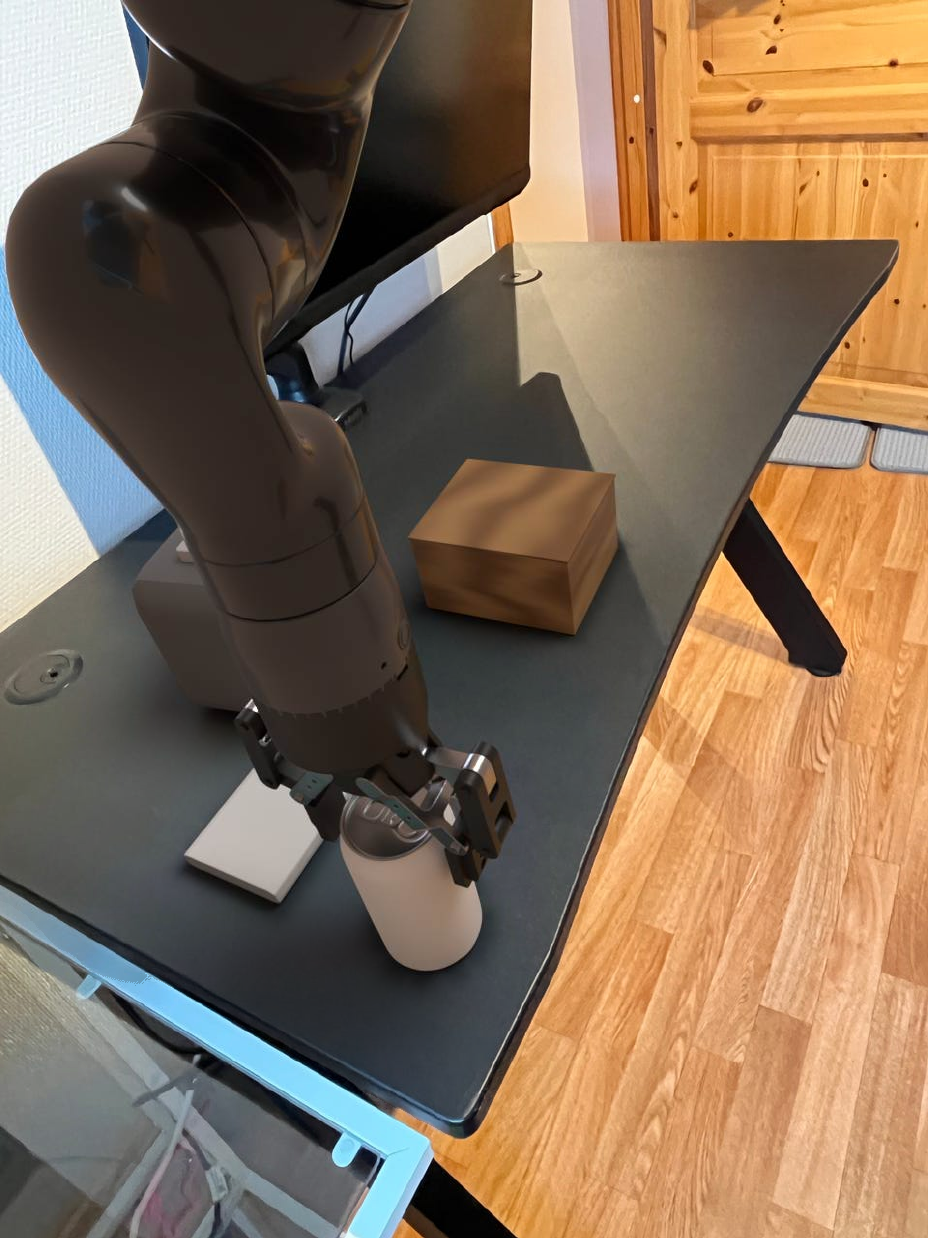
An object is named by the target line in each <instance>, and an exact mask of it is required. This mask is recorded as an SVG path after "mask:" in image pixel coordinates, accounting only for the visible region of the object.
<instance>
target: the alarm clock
mask: <svg viewBox="0 0 928 1238" xmlns="http://www.w3.org/2000/svg"><path fill="white" fill-rule="evenodd" d="M132 585H133V586H132V588H131V592H132V595H133V597H132V598H133V600H134V604H135V607H136V610H137V614H138V615H139V617H140V619H141V621H142V623H143V624H144V626H145V628H146V630H147V631H148V633H149V635H150V636H151V638H152V640H153V642H154V643H155V646H156V647H157V648H158V650H159V652H160V654H161V656H162V657H163V660H164V661H165V662H166V664H167V666H168V668H169V669H170V672H171V673H172V676H173V677H174V679H175V680H176V682H177V683H178V686H179V687H180V689H181V691H182V692H183V694H184V695H185V696H187V697H188V698H189V699H190V700H191V702H193V703H195V704H198V705H201V706H203V707H205V708H210V709H211V708H213V709H218V710H225V711H226V710H227V711H231V712H232V711H233V712H239V713H240V712H241V711H242V710H243V708H244V707H245V706H246V705H247V703H248V702H249V701H250V700H251V696H250V694H249V692H248V689H247V687H246V685H245V683H244V681H243V679H242V677H241V675H240V673H239V671H238V669H237V667H236V664H235V662H234V660H233V658H232V656H231V654H230V652H229V650H228V647H227V645H226V642H225V640H224V638H223V635H222V632H221V629H220V625H219V621H218V617H217V614H216V610H215V607H214V604H213V602H212V599H211V597H210V595H209V593H208V591H207V589H206V587H205V585H204V583H203V580H202V578H201V576H200V574H199V572H198V570H197V568H196V566H195V564H194V562H193V559H192V557H191V555H190V553H189V551H188V549H187V547H186V545H185V542H184V540H183V538H182V535H181V533H180V530H179V528H178V527H176V528H175V530H173V532H172V533H171V534H170V535H169V536H168V537H167V538H166V540H165V541H164V542H163V543H162V545H160V547H159V548H158V549H157V550H156V551H155V552H154V553H153V555H151V557H150V558H149V559H148V560H147V561H146V563H145V564H144V565H143V566H142V568H141V569H140V572H139V573H138V575H137V577H136V579H135V581H134V583H133V584H132Z"/></svg>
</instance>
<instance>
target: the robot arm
mask: <svg viewBox="0 0 928 1238" xmlns="http://www.w3.org/2000/svg"><path fill="white" fill-rule="evenodd" d="M120 2H121V4H122V6H123V7H124V8H125V10H126V11H127V13H128V14H129V16H130V18H132V20H133V21H134V22H135V24H136V25H137V26H138V27H139V28H140V30H141V31H142V32H143V33H144V34H145V36H147V37H148V39H149V45H148V60H147V69H146V77H145V81H144V87H143V91H142V95H141V98H140V101H139V104H138V106H137V110H136V112H135V115H134V117H133V120H132V122H131V124H130V126H128V127H126V128H124V129H122V130H120V131H119V132H116V133H115V134H112V135H111V136H109V137H107V138H105V139H103V140H101V141H99V142H98V143H95V144H94V145H91V146H90V147H88V148H87V149H85V150H82V151H80V152H78V153H76V154H74V155H73V156H70V157H69V158H66V159H65V160H63V161H61V162H59V163H58V164H56V165H54V166H52V167H51V168H49V169H47V170H46V171H43V172H42V173H41V174H40V175H38V176H37V177H36V178H34V180H33V181H31V183H30V184H29V185H28V186H27V187H26V188H24V190H23V191H22V193H21V194H20V195H19V196H18V198H17V200H16V202H15V203H14V206H13V208H12V211H11V214H10V215H9V218H8V220H7V225H6V230H5V237H4V250H3V251H4V252H3V253H4V269H5V277H6V278H5V279H6V282H7V288H8V293H9V297H10V302H11V305H12V309H13V311H14V315H15V318H16V321H17V323H18V326H19V329H20V331H21V333H22V335H23V337H24V339H25V341H26V343H27V346H28V347H29V350H30V351H31V353H32V355H33V356H34V358H35V359H36V361H37V363H38V365H39V366H40V367H41V368H42V370H43V372H44V373H45V375H46V376H47V377H48V379H49V380H50V382H52V384H53V385H54V386H55V387H56V389H57V390H58V391H59V392H60V394H61V395H62V396H63V397H64V398H65V399H66V401H68V403H69V404H70V406H72V407H73V408H74V409H75V411H76V412H77V413H78V414H79V415H80V416H81V417H82V419H84V421H85V422H86V423H87V424H88V425H89V426H90V427H91V428H92V429H93V430H94V431H95V433H96V434H97V435H98V436H99V437H100V439H102V441H103V442H104V443H106V445H107V446H108V447H109V448H110V449H111V450H112V452H113V453H114V454H115V455H116V456H117V457H118V459H120V460H121V462H122V464H124V465H125V467H126V468H127V469H128V470H129V472H131V473H132V475H134V477H135V478H136V479H137V480H138V481H139V482H140V484H141V485H142V486H143V487H144V488H145V489H146V490H147V491H148V492H149V493H150V494H151V495H152V496H153V497H154V498H155V499H156V500H157V501H158V502H159V504H160V505H161V506H162V507H163V508H164V509H165V510H166V512H168V514H169V515H170V516H171V517H172V519H173V520H174V522H175V523H176V525H177V528H179V530H180V533H181V535H182V538H183V540H184V542H185V545H186V547H187V549H188V551H189V553H190V555H191V557H192V559H193V562H194V564H195V566H196V568H197V570H198V572H199V574H200V576H201V578H202V580H203V583H204V585H205V587H206V589H207V591H208V593H209V595H210V597H211V599H212V602H213V604H214V607H215V610H216V614H217V617H218V621H219V625H220V629H221V632H222V635H223V638H224V640H225V642H226V645H227V647H228V650H229V652H230V654H231V656H232V658H233V660H234V662H235V664H236V667H237V669H238V671H239V673H240V675H241V677H242V679H243V681H244V683H245V685H246V687H247V689H248V692H249V694H250V696H251V700H250V701H249V702H248V703H247V705H246V706H245V707H244V708H243V710H242V711H241V712H239V713H238V715H237V716H236V717H235V718H234V720H233V724H234V727H235V729H236V731H237V733H238V735H239V737H240V740H241V742H242V744H243V746H244V748H245V750H246V753H247V755H248V757H249V759H250V762H251V764H252V766H253V768H255V770H256V773H257V775H258V777H259V779H260V781H261V782H262V783H263V784H264V785H265V786H267V787H268V788H271V789H274V790H276V789H278V787H279V786H280V785H283V786H285V787H287V788H289V789H291V791H290V792H289V794H290V796H291V798H292V799H293V800H295V801H296V802H297V803H299V804H302V805H303V806H304V808H305V810H306V812H307V814H308V816H309V818H310V820H311V823H312V824H313V825H314V826H315V827H316V829H317V831H318V833H319V835H320V837H321V838H322V839H324V840H323V841H326V842H330V843H336V841H337V840H338V839H339V838H340V834H341V832H340V816H341V812H342V809H343V807H344V805H345V803H346V799H345V797H344V794H343V792H345V793H348V794H351V795H355V796H363V797H368V798H370V799H372V800H374V801H377V802H379V803H381V804H384V805H386V806H387V807H388V808H389V809H390V810H391V811H392V812H394V813H395V814H396V815H397V816H398V817H399V818H400V819H401V820H402V821H403V822H405V823H406V824H407V825H408V826H409V827H410V828H411V829H412V830H414V831H416V832H420V831H425V830H427V831H428V832H429V833H430V834H432V835H433V836H434V837H435V838H436V839H437V840H438V841H439V842H440V843H441V844H443V845H444V846H445V848H444V852H445V855H446V859H447V862H448V865H449V868H450V871H451V875H452V878H453V881H454V884H456V885H459V886H462V887H465V888H468V887H469V886H470V885H471V883H472V881H474V883H478V881H479V879H480V877H481V875H482V873H483V871H484V869H485V867H486V865H487V863H488V860H496V859H497V858H498V856H499V855H500V853H501V850H502V846H503V844H504V842H505V840H506V837H507V836H508V834H509V831H510V829H511V827H512V826H513V824H514V823H515V820H516V818H517V812H516V808H515V805H514V801H513V799H512V795H511V791H510V788H509V785H508V781H507V778H506V775H505V771H504V767H503V764H502V760H501V757H500V753H499V750H498V749H497V748H496V747H495V746H494V745H493V744H492V743H489V742H486V741H482V740H481V741H477V742H475V744H474V746H473V747H472V750H471V751H470V753H468V752H464V751H463V752H462V751H458V750H454V749H449V748H446V747H445V746H444V744H443V743H442V741H441V739H440V738H439V737H438V736H437V735H436V733H435V732H434V731H433V730H432V729H431V727H430V725H429V696H428V694H429V693H428V688H427V683H426V680H425V676H424V673H423V669H422V665H421V662H420V659H419V658H420V657H419V654H418V651H417V648H416V644H415V640H414V637H413V633H412V630H411V626H410V622H409V618H408V615H407V612H406V611H407V610H406V609H405V608H406V607H405V603H404V599H403V596H402V593H401V589H400V586H399V583H398V580H397V577H396V575H395V571H394V570H393V568H392V565H391V563H390V561H389V559H388V557H387V555H386V552H385V551H384V548H383V545H382V543H381V540H380V536H379V533H378V528H377V526H376V522H375V519H374V515H373V511H372V508H371V505H370V501H369V496H368V493H367V490H366V486H365V483H364V479H363V476H362V473H361V470H360V467H359V464H358V462H357V458H356V456H355V453H354V450H353V447H352V445H351V442H350V441H349V438H348V436H347V434H346V433H345V431H344V430H343V428H342V427H341V425H340V424H339V423H338V422H337V421H336V419H335V418H334V417H332V415H330V414H329V413H327V412H326V411H325V410H324V409H321V408H319V407H317V406H315V405H312V404H311V403H307V402H305V401H299V400H293V399H292V400H291V399H277V397H276V395H275V394H274V392H273V389H272V386H271V384H270V381H269V378H268V374H267V369H266V365H265V361H264V360H265V359H264V353H263V352H264V351H265V349H266V348H267V347H268V346H269V345H270V344H271V343H272V342H273V341H274V339H275V338H277V336H278V335H279V334H280V332H281V331H282V330H284V328H285V327H286V326H287V324H289V322H290V321H291V320H292V319H293V318H294V317H295V315H297V313H298V311H299V310H300V309H302V307H303V306H304V304H305V302H306V301H307V299H308V298H309V296H310V295H311V293H312V291H313V290H314V288H315V286H316V285H317V282H318V280H319V278H320V277H321V274H322V272H323V270H324V268H325V266H326V263H327V261H328V259H329V256H330V254H331V252H332V249H333V246H334V244H335V242H336V239H337V237H338V233H339V230H340V228H341V225H342V222H343V219H344V216H345V212H346V209H347V207H348V203H349V199H350V196H351V192H352V189H353V186H354V182H355V178H356V174H357V169H358V165H359V162H360V158H361V153H362V150H363V146H364V143H365V139H366V134H367V131H368V127H369V122H370V117H371V112H372V107H373V102H374V97H375V93H376V87H377V84H378V81H379V78H380V75H381V73H382V70H383V68H384V66H385V64H386V62H387V60H388V58H389V56H390V54H391V52H392V50H393V48H394V46H395V44H396V42H397V39H398V38H399V35H400V33H401V32H402V29H403V27H404V24H405V22H406V20H407V18H408V15H409V13H410V12H411V8H412V4H413V2H414V0H120ZM429 781H430V782H431V787H430V789H429V791H428V792H427V794H426V796H425V798H424V800H423V801H422V803H421V805H420V807H419V806H418V805H417V804H416V803H414V802H413V801H412V800H411V798H412V797H413V796H414V795H415V794H416V793H417V792H418V791H419V790H421V789H422V788H423V787H424V786H425V785H426V784H427V783H428V782H429ZM448 804H449V805H450V807H451V808H452V809H454V810H455V811H456V812H457V813H458V814H457V815H456V817H455V821H454V823H453V825H451V824H449V823H448V822H447V821H446V820H445V818H444V811H445V809H446V807H447V805H448Z"/></svg>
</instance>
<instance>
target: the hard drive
mask: <svg viewBox="0 0 928 1238" xmlns="http://www.w3.org/2000/svg"><path fill="white" fill-rule="evenodd" d="M290 791H291V789H289V788H287V787H285V786H283V785H280V786H279V787H278V789H276V790H274V789H271V788H268V787H267V786H265V785H264V784H263V783H262V782H261V781H260V779H259V777H258V775H257V773H256V770H255V768H254V767H253V768H252V769H251V770H250V772H249V773H248V774H247V775H246V777H245V778H244V779H243V780H242V781H241V783H240V784H239V786H237V788H236V789H235V790H234V792H232V794H231V795H230V797H228V799H227V800H226V801H225V803H223V805H222V806H221V808H220V809H218V811H217V812H216V814H215V815H214V816H213V817H212V819H211V820H210V821H209V823H207V825H206V826H205V828H203V830H202V831H201V832H200V834H199V835H198V836H197V837H196V839H195V840H194V841H193V842H192V844H191V845H190V847H189V848H188V849H187V850H186V851H185V852H184V854H183V857H184V858H185V860H186V861H187V862H188V863H189V865H191V866H193V867H194V868H196V869H198V870H201V871H202V872H205V873H207V874H210V875H212V876H214V877H216V878H218V879H221V880H223V881H225V882H228V883H230V884H232V885H234V886H237V887H238V888H241V889H244V890H245V891H248V892H250V893H252V894H255V895H257V896H259V897H261V898H264V899H265V900H267V901H270V902H271V903H272V902H273V903H275V904H281V903H282V902H283V900H284V898H285V897H286V896H287V894H288V893H289V892H290V890H291V888H292V887H293V885H295V883H296V881H297V880H298V878H299V877H300V876H301V875H302V873H303V871H304V870H305V868H306V867H307V865H308V864H309V862H310V861H311V860H312V859H313V856H314V855H315V854H316V852H317V851H318V850H319V848H320V847H321V845H322V844H323V842H324V841H325V840H324V839H322V838H321V837H320V835H319V833H318V831H317V829H316V827H315V826H314V825H313V824H312V823H311V820H310V818H309V816H308V814H307V812H306V810H305V808H304V806H303V805H302V804H299V803H297V802H296V801H295V800H293V799H292V798H291V796H290V794H289V792H290ZM343 794H344V797H345V799H346V801H347V799H348V798H349V797H350V795H351V794H348V793H345V792H343Z"/></svg>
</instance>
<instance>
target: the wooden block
mask: <svg viewBox="0 0 928 1238" xmlns="http://www.w3.org/2000/svg"><path fill="white" fill-rule="evenodd" d="M616 475H617V474H616V473H610V472H609V473H608V472H599V471H590V470H581V469H572V468H571V469H570V468H562V467H561V468H560V467H553V466H552V467H551V466H542V465H541V466H540V465H531V464H530V465H529V464H521V463H511V462H502V461H494V460H493V461H492V460H482V459H472V458H467V459H466V460H465V461H464V462H463V464H462V465H461V466H460V467H459V469H458V470H457V472H456V473H455V474H454V475H453V476H452V478H451V480H449V482H448V483H447V485H446V486H445V487H444V489H443V490H442V491H441V492H440V494H439V495H438V497H437V498H436V499H435V500H434V502H433V503H432V504H431V506H430V507H429V509H428V510H427V511H426V512H425V513H424V515H423V516H422V517H421V519H420V520H419V521H418V522H417V524H416V525H415V526H414V528H413V529H412V530H411V532H410V533H409V534H408V536H407V537H406V539H407V540H409V541H410V545H411V550H412V553H413V558H414V561H415V564H416V568H417V572H418V576H419V579H420V584H421V587H422V593H423V595H424V600H425V603H426V607H427V608H429V609H433V610H438V611H439V610H440V611H445V612H449V613H456V614H461V615H464V616H465V615H466V616H472V617H476V618H482V619H486V620H487V619H488V620H493V621H498V622H503V623H508V624H513V625H519V626H524V627H525V626H526V627H530V628H534V629H540V630H546V631H550V632H556V633H561V634H567V635H572V636H575V635H576V634H577V632H578V630H579V628H580V626H581V624H582V622H583V620H584V618H585V616H586V614H587V612H588V610H589V607H590V605H591V604H592V602H593V599H594V597H595V595H596V593H597V591H598V589H599V587H600V585H601V583H602V581H603V579H604V577H605V575H606V573H607V571H608V569H609V567H610V566H611V563H612V561H613V559H614V557H615V555H616V553H617V552H618V549H619V543H618V542H619V541H618V540H619V539H618V522H617V505H616V504H617V503H616V487H615V479H616V477H617V476H616Z"/></svg>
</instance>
